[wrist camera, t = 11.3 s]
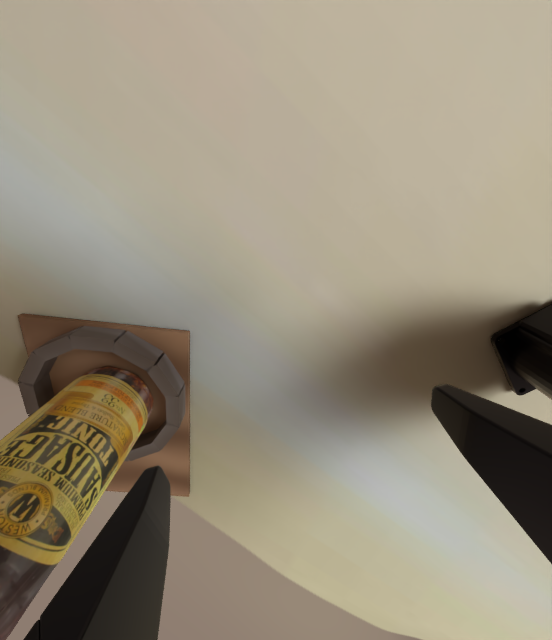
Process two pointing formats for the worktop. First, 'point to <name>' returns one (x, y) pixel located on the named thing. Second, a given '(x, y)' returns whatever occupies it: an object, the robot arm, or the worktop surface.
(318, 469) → the worktop surface
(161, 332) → the cup bracket
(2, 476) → the sauce bottle
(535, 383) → the robot arm
